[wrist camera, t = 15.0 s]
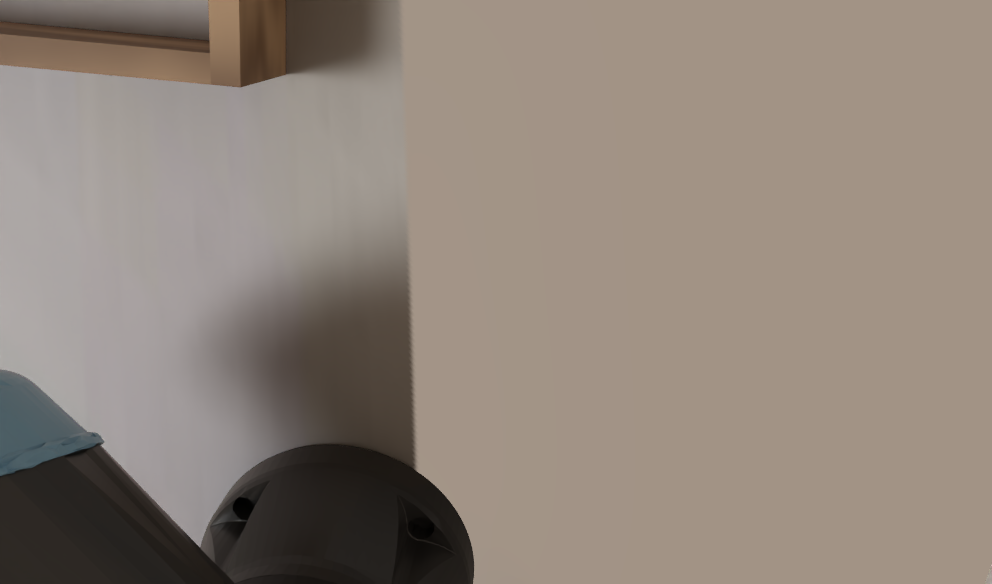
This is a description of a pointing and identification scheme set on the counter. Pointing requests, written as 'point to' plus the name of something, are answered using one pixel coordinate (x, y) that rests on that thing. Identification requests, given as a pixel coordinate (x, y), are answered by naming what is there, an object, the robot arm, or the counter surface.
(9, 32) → the box frame
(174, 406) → the counter surface
